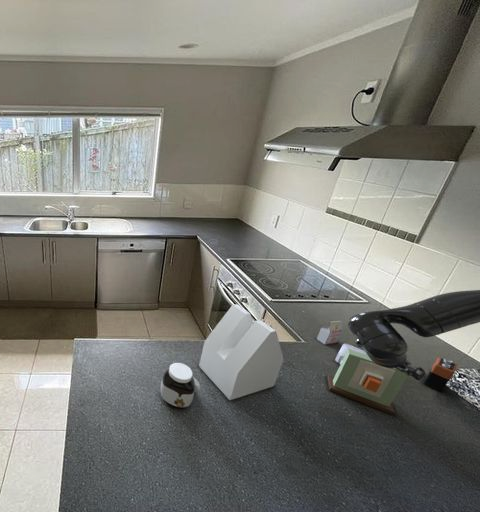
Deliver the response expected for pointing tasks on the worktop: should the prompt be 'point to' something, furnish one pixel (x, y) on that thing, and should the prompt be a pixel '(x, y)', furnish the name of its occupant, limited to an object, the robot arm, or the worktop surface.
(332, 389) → the wall panel
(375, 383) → the switch
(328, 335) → the small printed carton
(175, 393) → the spread jar
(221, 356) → the white grooved wedge block
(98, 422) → the worktop surface
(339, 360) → the charger
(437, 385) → the battery
